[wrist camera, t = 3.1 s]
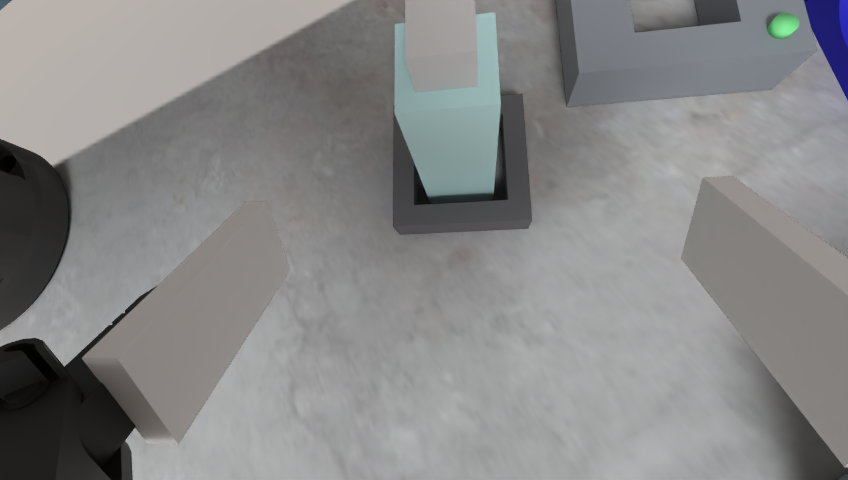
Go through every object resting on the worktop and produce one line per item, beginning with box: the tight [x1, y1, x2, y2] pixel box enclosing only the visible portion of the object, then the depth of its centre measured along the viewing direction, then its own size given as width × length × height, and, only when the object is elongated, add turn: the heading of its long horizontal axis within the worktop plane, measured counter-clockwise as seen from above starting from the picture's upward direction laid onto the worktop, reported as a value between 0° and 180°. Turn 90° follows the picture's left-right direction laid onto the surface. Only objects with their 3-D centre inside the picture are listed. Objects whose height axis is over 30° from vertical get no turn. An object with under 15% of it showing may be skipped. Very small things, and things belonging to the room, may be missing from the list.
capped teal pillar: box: [394, 0, 501, 203], centre depth 20 cm, size 4×4×13 cm
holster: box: [393, 94, 532, 235], centre depth 25 cm, size 8×8×2 cm
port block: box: [556, 0, 817, 107], centre depth 25 cm, size 12×10×4 cm
